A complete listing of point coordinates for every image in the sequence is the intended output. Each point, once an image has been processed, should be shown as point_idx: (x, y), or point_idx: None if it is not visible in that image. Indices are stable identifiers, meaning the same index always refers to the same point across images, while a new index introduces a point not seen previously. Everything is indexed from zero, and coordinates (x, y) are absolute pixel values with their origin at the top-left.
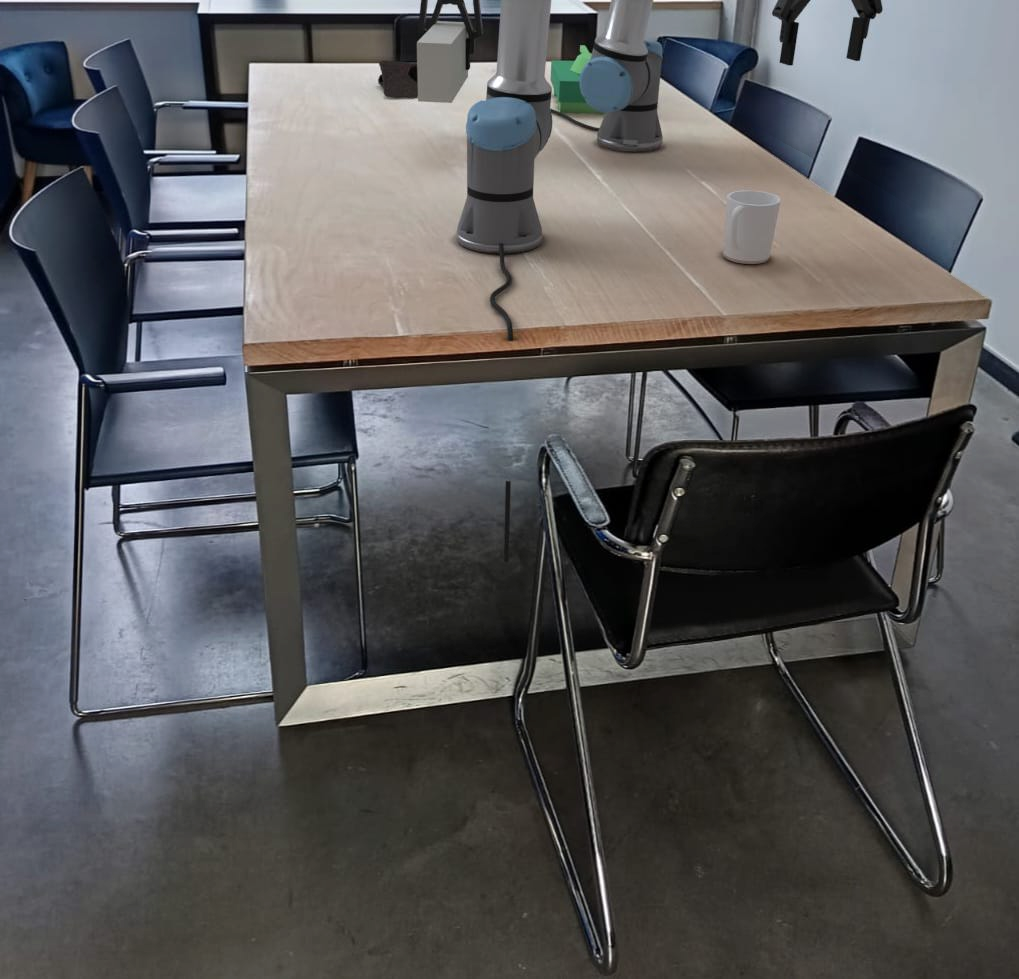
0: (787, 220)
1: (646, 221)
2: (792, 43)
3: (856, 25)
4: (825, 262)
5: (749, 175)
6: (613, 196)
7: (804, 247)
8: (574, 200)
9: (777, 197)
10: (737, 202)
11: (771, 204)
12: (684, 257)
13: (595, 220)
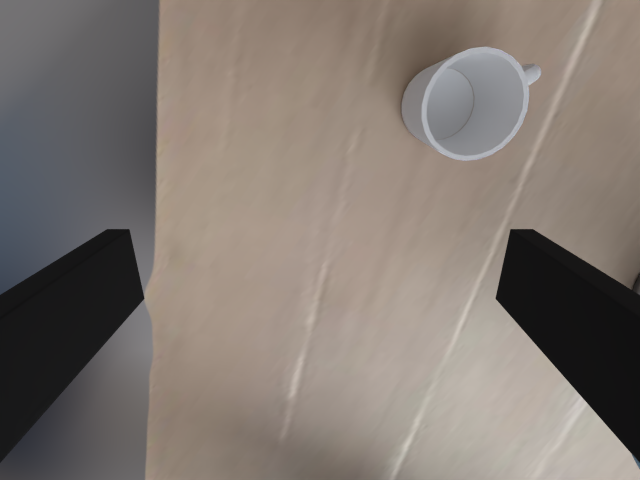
0: (269, 231)
1: (463, 289)
2: (607, 277)
3: (16, 384)
4: (330, 34)
5: (212, 402)
6: (437, 382)
7: (318, 114)
8: (492, 383)
9: (429, 92)
10: (528, 88)
11: (475, 50)
12: (519, 139)
13: None
